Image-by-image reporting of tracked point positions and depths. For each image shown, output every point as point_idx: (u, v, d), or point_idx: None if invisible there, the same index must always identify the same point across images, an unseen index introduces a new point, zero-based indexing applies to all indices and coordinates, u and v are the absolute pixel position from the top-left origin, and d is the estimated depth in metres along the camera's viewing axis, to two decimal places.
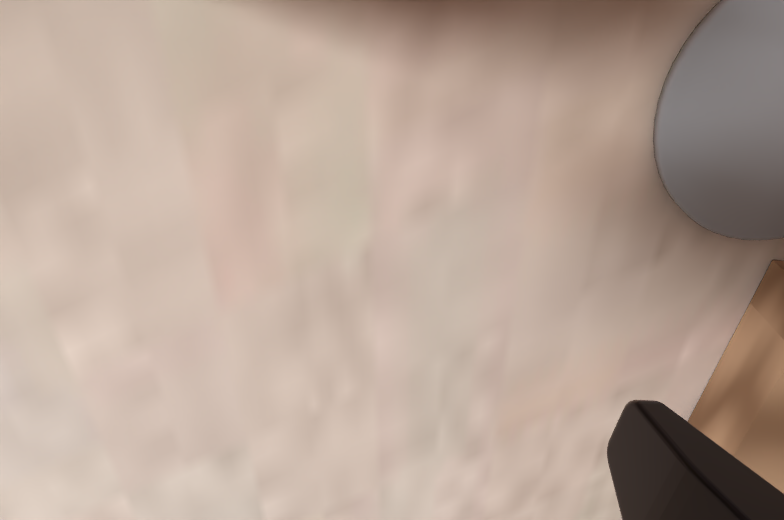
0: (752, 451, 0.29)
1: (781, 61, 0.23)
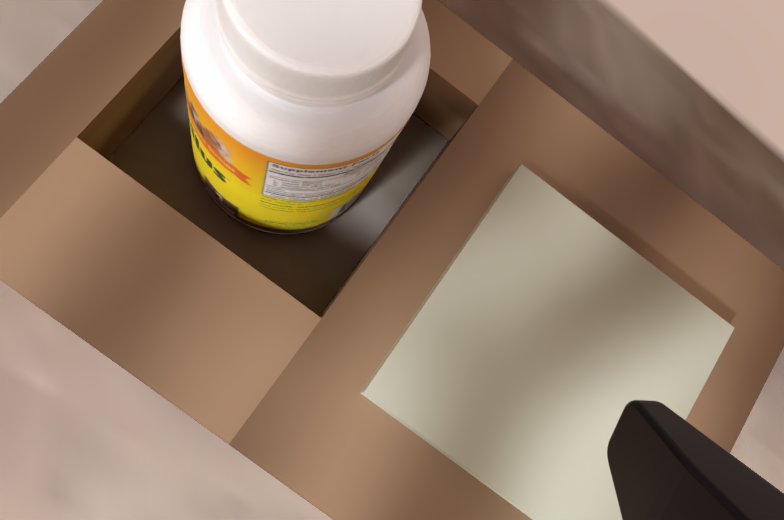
0: (151, 350, 0.19)
1: None
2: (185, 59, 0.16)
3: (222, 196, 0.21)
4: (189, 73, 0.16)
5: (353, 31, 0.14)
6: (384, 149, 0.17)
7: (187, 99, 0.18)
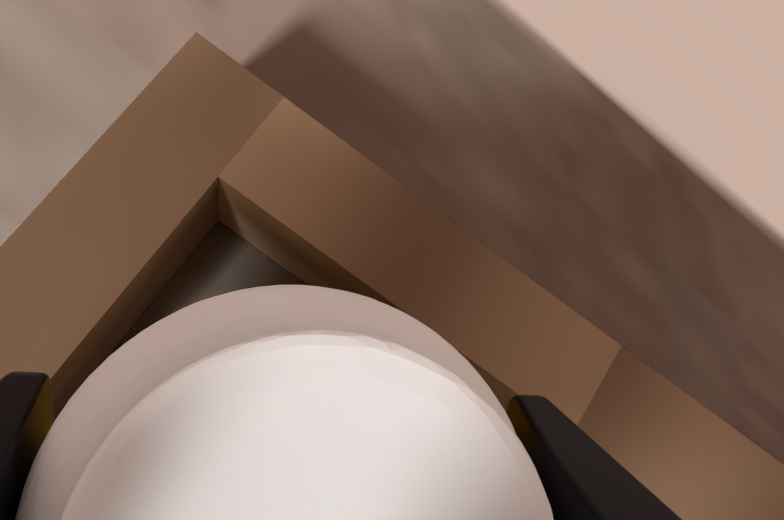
0: None
1: None
2: None
3: None
4: None
5: None
6: None
7: None
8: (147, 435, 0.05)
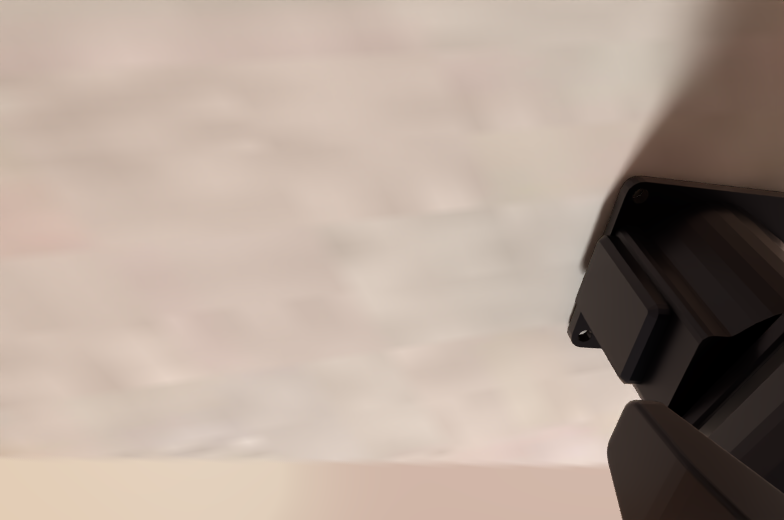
0: None
1: None
2: None
3: None
4: None
5: None
6: None
7: None
8: None
